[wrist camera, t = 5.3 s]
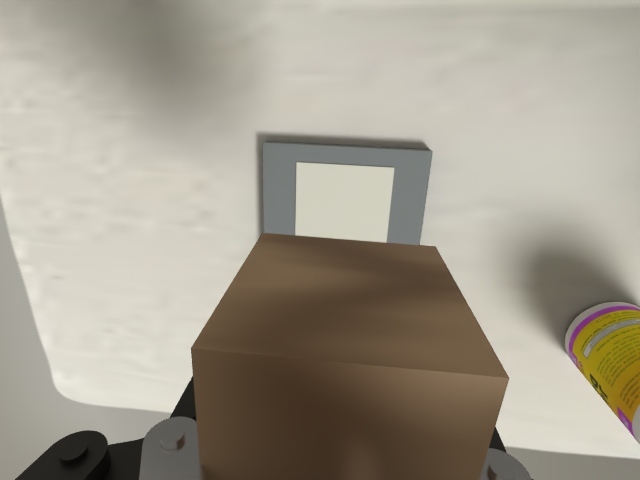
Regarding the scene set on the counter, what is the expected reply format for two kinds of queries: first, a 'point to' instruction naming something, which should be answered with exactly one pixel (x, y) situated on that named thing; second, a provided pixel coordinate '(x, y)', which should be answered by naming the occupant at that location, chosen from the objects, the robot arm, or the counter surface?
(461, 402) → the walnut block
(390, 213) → the mat
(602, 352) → the supplement bottle
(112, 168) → the counter surface
